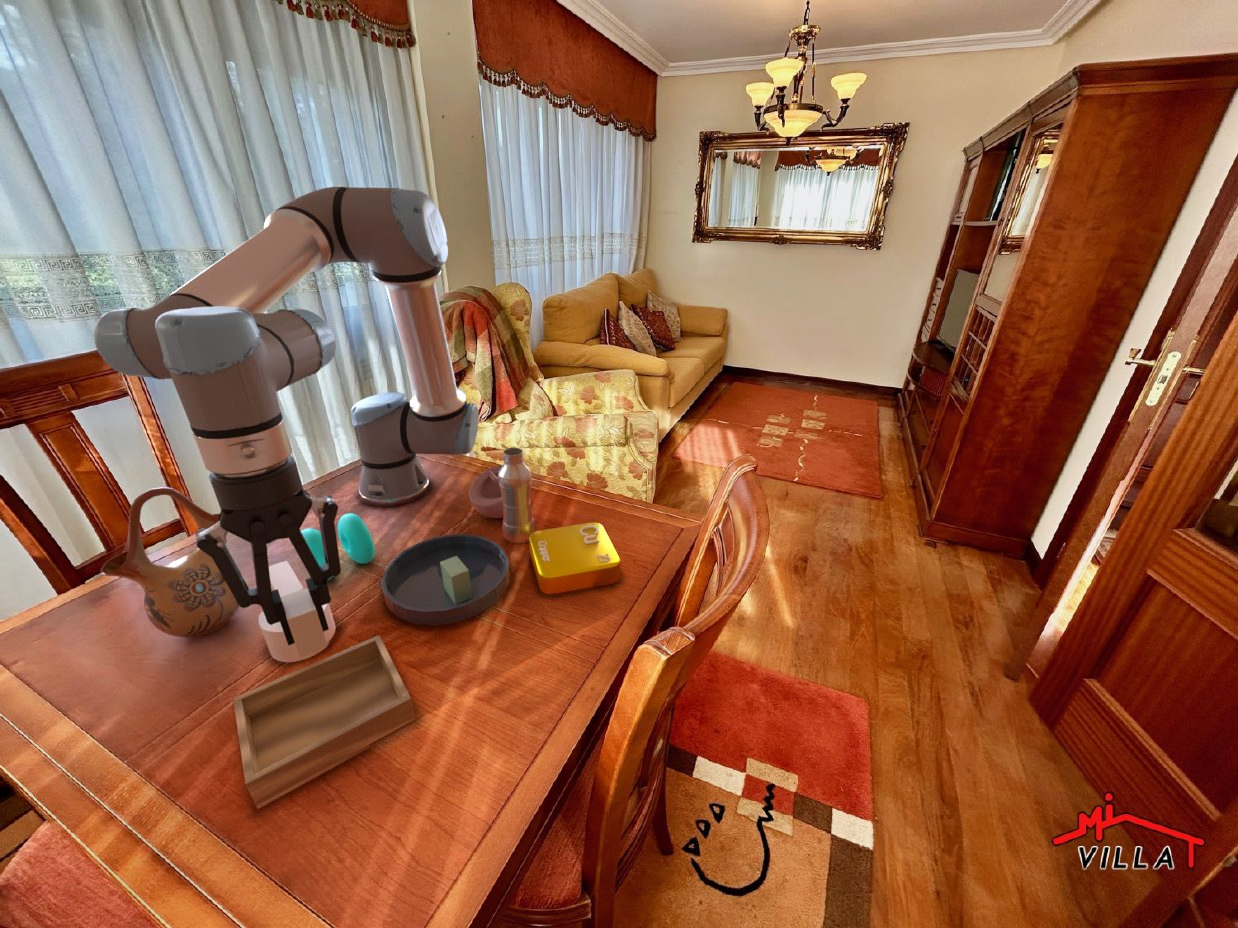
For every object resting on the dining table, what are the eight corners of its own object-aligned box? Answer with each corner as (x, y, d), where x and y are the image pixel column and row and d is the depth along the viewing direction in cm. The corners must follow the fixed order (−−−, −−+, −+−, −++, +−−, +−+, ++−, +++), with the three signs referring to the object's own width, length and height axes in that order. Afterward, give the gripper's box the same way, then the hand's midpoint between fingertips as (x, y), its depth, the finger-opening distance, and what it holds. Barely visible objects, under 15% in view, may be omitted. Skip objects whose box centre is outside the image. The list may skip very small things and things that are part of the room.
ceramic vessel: (248, 586, 88) (199, 459, 77) (279, 603, 85) (233, 473, 74) (133, 649, 75) (55, 507, 64) (165, 673, 72) (87, 527, 60)
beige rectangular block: (292, 633, 64) (280, 596, 61) (318, 622, 66) (307, 587, 63) (300, 657, 61) (287, 620, 58) (327, 646, 62) (316, 609, 60)
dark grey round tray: (369, 576, 92) (365, 561, 90) (479, 536, 104) (477, 522, 102) (408, 648, 77) (405, 631, 75) (531, 591, 89) (530, 576, 88)
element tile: (528, 549, 100) (527, 529, 98) (600, 537, 105) (600, 518, 103) (541, 598, 88) (540, 576, 86) (622, 582, 92) (623, 562, 90)
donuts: (381, 568, 94) (371, 523, 89) (325, 594, 87) (311, 547, 83) (358, 545, 100) (348, 503, 95) (303, 568, 93) (289, 523, 89)
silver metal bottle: (529, 550, 100) (523, 460, 91) (497, 545, 101) (489, 456, 92) (540, 532, 106) (536, 446, 97) (510, 527, 107) (503, 442, 98)
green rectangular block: (444, 589, 88) (439, 561, 86) (460, 582, 90) (456, 555, 87) (455, 604, 85) (451, 577, 82) (472, 597, 87) (468, 570, 84)
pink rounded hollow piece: (460, 514, 111) (454, 468, 106) (504, 495, 119) (500, 451, 114) (493, 535, 104) (489, 488, 99) (537, 513, 112) (535, 468, 107)
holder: (244, 721, 65) (233, 697, 63) (384, 657, 75) (379, 634, 73) (257, 809, 56) (245, 784, 54) (416, 721, 66) (411, 698, 64)
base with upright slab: (344, 640, 78) (327, 579, 73) (278, 672, 72) (254, 609, 67) (325, 610, 84) (308, 551, 78) (263, 637, 78) (239, 576, 73)
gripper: (150, 500, 45) (231, 683, 55) (344, 456, 54) (383, 620, 65) (151, 469, 50) (225, 642, 61) (328, 434, 59) (366, 589, 70)
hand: (306, 630), depth 63 cm, fingers closed on beige rectangular block, 3 cm apart
